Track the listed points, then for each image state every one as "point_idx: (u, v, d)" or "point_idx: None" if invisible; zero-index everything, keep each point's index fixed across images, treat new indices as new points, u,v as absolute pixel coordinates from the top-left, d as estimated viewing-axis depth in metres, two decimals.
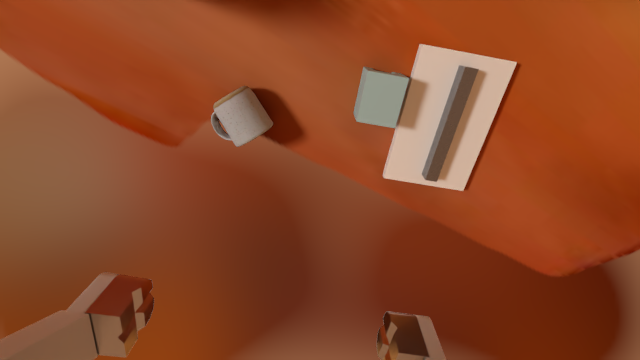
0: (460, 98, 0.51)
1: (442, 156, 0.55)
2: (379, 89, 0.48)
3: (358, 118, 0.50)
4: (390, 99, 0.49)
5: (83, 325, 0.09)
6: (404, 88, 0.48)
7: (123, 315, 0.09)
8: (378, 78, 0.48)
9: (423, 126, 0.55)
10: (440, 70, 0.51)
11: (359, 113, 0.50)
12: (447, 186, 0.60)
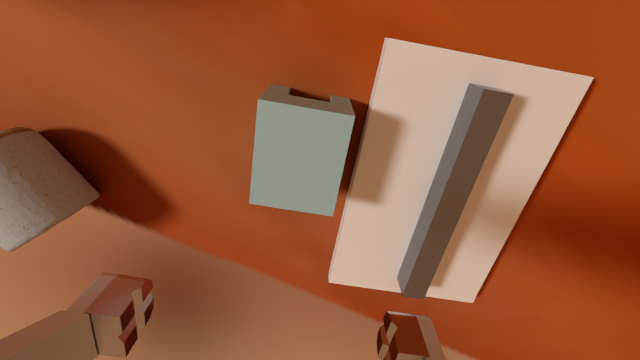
0: (471, 154, 0.24)
1: (434, 258, 0.28)
2: (291, 141, 0.21)
3: (252, 197, 0.23)
4: (317, 161, 0.22)
5: (83, 325, 0.09)
6: (346, 138, 0.21)
7: (123, 315, 0.09)
8: (284, 115, 0.21)
9: (397, 199, 0.28)
10: (429, 95, 0.24)
11: (253, 188, 0.23)
12: (444, 296, 0.34)
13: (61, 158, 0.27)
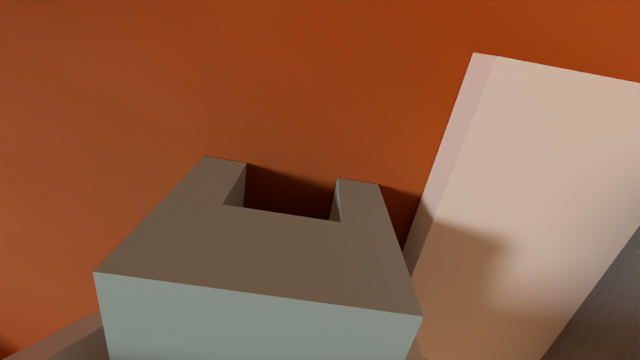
0: None
1: None
2: None
3: None
4: None
5: None
6: None
7: None
8: (189, 313, 0.06)
9: None
10: (578, 191, 0.10)
11: None
12: None
13: None
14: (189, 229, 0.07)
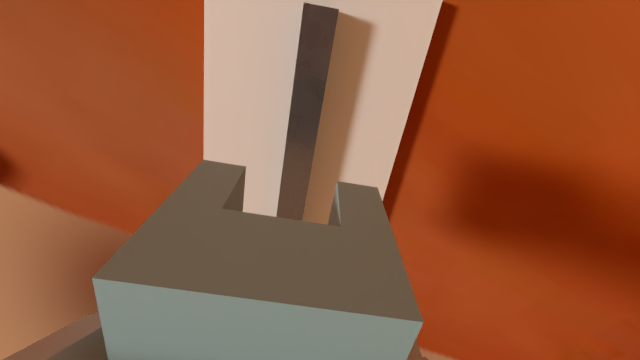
0: (308, 85, 0.21)
1: (295, 211, 0.26)
2: None
3: None
4: None
5: None
6: None
7: None
8: (189, 319, 0.06)
9: (256, 146, 0.26)
10: (264, 20, 0.22)
11: None
12: None
13: None
14: (189, 234, 0.07)
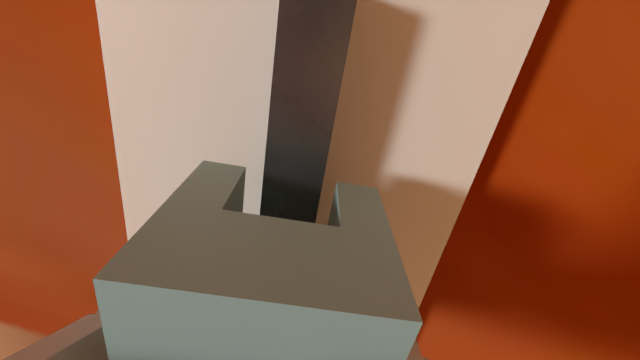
0: (296, 136, 0.11)
1: None
2: None
3: None
4: None
5: None
6: None
7: None
8: (190, 320, 0.06)
9: None
10: (212, 9, 0.11)
11: None
12: None
13: None
14: (189, 235, 0.07)
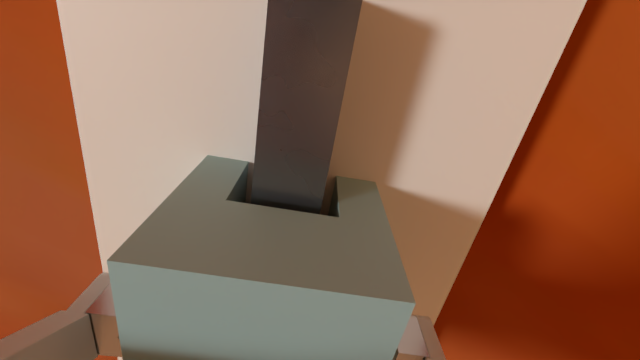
0: (288, 166, 0.09)
1: None
2: (225, 354, 0.08)
3: None
4: None
5: (83, 325, 0.09)
6: (383, 350, 0.07)
7: None
8: (196, 300, 0.07)
9: None
10: (193, 18, 0.10)
11: None
12: None
13: None
14: (195, 223, 0.08)
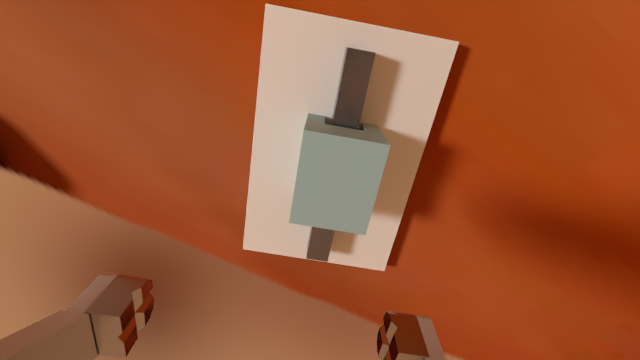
0: (347, 112, 0.25)
1: None
2: (331, 166, 0.24)
3: (292, 217, 0.26)
4: (354, 185, 0.24)
5: (83, 325, 0.09)
6: (381, 164, 0.23)
7: (123, 315, 0.09)
8: (326, 144, 0.23)
9: (296, 162, 0.30)
10: (310, 58, 0.26)
11: (293, 209, 0.25)
12: (355, 263, 0.35)
13: None
14: (319, 127, 0.24)
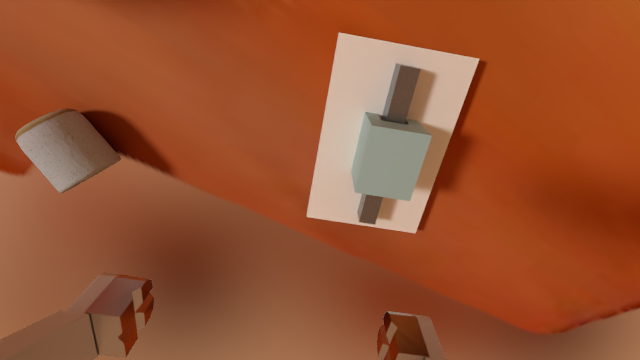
0: (397, 111, 0.35)
1: None
2: (388, 151, 0.33)
3: (357, 188, 0.35)
4: (404, 164, 0.34)
5: (83, 325, 0.09)
6: (424, 149, 0.33)
7: (123, 315, 0.09)
8: (386, 135, 0.33)
9: (353, 149, 0.40)
10: (369, 71, 0.35)
11: (359, 182, 0.35)
12: (393, 227, 0.45)
13: (95, 130, 0.39)
14: (379, 122, 0.34)
